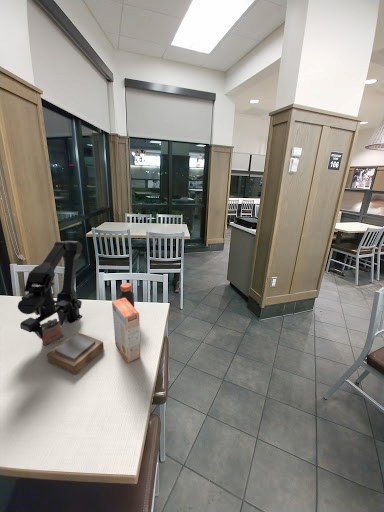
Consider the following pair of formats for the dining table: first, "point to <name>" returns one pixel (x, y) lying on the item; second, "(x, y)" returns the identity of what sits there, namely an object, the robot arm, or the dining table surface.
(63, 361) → the walnut base
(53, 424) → the dining table surface
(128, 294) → the bottle
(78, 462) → the dining table surface
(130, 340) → the cracker box
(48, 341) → the lighter
